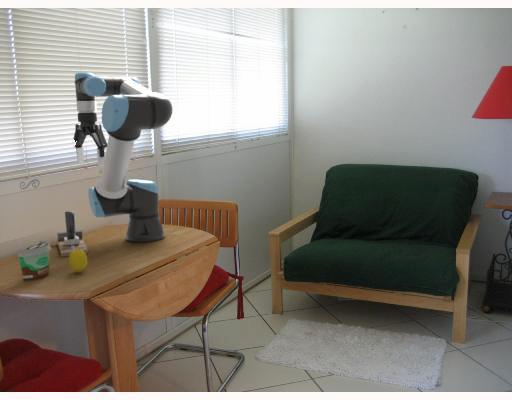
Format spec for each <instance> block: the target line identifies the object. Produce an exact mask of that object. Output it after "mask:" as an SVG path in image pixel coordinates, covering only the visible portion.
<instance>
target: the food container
mask: <svg viewBox="0 0 512 400" xmlns="http://www.w3.org/2000/svg"><path fill="white" fill-rule="evenodd" d="M51 250H52V248H51V245H50V243H49V242H48V241H45V240H39V243H38V244H36V245H31V246H29V247H27V248H25V249H18V251H17V258H19V263H20V268H21V274H22V280H23V281H24V282H25V281H29V282H30V281H36V280H41V279H44V278H46V277H48V276H49V275H50V251H51Z"/></svg>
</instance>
